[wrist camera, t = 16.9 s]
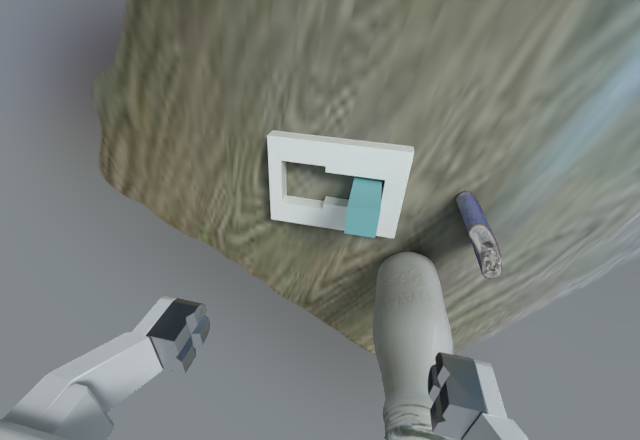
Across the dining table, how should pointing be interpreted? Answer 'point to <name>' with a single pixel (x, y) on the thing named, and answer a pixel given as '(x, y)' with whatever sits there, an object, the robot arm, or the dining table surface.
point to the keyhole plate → (338, 159)
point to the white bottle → (409, 342)
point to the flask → (480, 235)
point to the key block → (364, 207)
